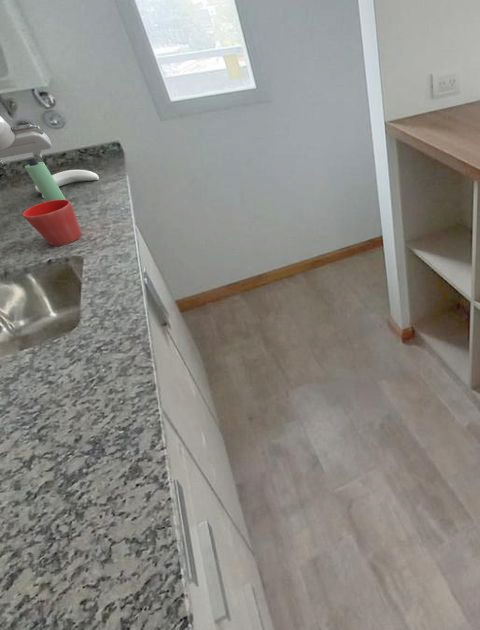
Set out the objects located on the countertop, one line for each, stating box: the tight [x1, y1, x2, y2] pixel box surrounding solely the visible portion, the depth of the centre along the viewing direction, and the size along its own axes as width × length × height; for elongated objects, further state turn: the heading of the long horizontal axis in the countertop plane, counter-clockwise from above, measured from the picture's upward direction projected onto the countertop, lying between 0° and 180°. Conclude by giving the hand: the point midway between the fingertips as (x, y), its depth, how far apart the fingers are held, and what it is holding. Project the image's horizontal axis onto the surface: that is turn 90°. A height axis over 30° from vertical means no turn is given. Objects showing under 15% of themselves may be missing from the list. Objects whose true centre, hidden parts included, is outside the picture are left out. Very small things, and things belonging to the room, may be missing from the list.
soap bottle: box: [24, 156, 67, 202], centre depth 143 cm, size 5×5×15 cm
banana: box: [34, 169, 100, 199], centre depth 158 cm, size 5×19×15 cm
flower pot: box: [22, 199, 83, 247], centre depth 121 cm, size 11×11×10 cm
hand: (19, 159), depth 129 cm, fingers open, 8 cm apart
